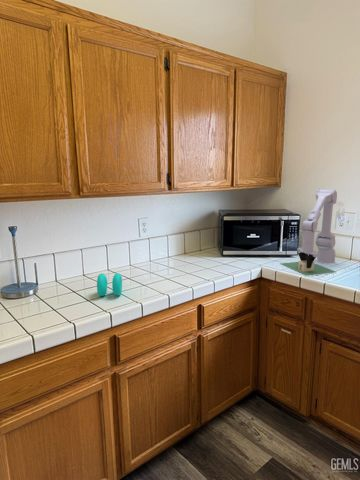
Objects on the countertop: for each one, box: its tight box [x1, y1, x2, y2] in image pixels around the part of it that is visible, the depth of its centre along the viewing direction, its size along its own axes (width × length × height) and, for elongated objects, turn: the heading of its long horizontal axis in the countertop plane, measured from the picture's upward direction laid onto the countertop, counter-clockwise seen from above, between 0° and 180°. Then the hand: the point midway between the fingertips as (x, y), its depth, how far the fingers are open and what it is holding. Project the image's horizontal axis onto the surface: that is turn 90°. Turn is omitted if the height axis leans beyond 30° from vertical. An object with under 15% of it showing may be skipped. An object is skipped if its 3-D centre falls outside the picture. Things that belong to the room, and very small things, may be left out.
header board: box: [279, 261, 337, 277], centre depth 190 cm, size 20×24×3 cm
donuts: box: [96, 272, 123, 297], centre depth 149 cm, size 10×10×10 cm
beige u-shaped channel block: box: [298, 260, 315, 272], centre depth 184 cm, size 7×4×5 cm, turn 107°
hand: (306, 266), depth 184 cm, fingers closed on beige u-shaped channel block, 4 cm apart
